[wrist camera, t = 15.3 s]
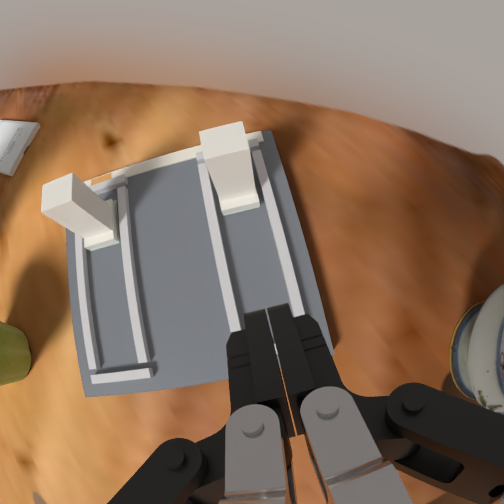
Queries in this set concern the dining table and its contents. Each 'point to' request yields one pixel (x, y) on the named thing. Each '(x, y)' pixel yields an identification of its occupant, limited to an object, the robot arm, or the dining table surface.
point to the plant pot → (13, 354)
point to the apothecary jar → (481, 352)
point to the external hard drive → (14, 143)
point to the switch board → (184, 272)
